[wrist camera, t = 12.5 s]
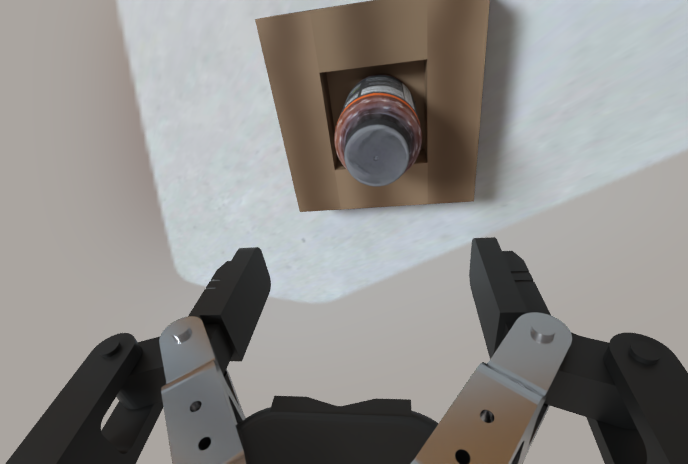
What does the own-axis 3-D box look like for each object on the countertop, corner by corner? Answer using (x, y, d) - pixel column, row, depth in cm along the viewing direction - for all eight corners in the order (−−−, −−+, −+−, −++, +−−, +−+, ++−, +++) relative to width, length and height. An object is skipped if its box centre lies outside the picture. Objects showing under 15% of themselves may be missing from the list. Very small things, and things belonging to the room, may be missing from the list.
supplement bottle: (398, 150, 33) (402, 214, 23) (337, 129, 32) (316, 185, 23) (426, 85, 29) (443, 129, 20) (358, 61, 29) (343, 93, 19)
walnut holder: (478, -17, 26) (491, -18, 23) (465, 181, 35) (473, 201, 31) (270, 16, 28) (255, 19, 25) (307, 192, 37) (299, 211, 34)
